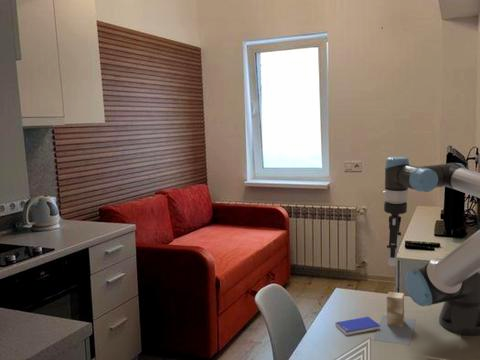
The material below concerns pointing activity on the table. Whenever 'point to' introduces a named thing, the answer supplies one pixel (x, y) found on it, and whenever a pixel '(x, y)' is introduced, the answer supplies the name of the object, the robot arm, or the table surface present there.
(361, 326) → the hard drive
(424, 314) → the table surface
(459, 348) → the table surface
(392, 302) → the birch block
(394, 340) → the slate mat
